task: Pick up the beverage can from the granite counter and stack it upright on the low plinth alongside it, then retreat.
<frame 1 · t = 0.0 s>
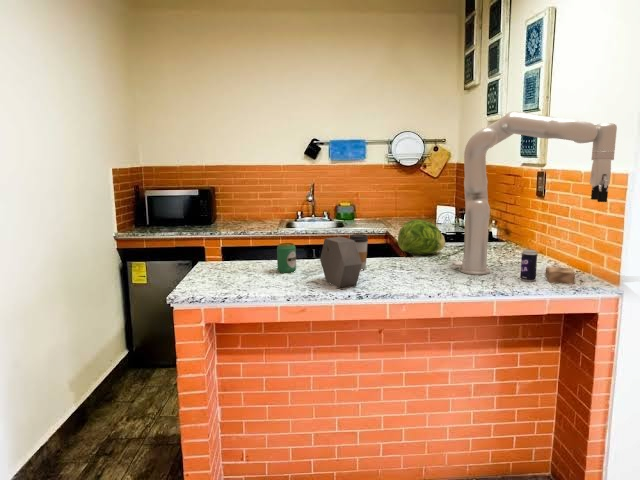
hand: (598, 200, 191), 31 cm above the worktop, fingers open, 9 cm apart
beverage can 2: (286, 272, 211), on the worktop
coffee cup: (358, 269, 215), on the worktop
lettuce: (421, 254, 246), on the worktop
beverage can: (527, 280, 194), on the worktop
dark hexagonal prism: (340, 283, 192), on the worktop
plinth: (559, 280, 193), on the worktop
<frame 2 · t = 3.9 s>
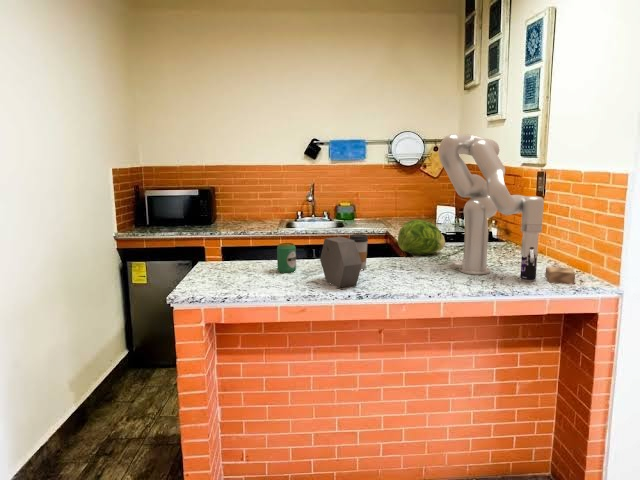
hand: (528, 272, 193), 3 cm above the worktop, fingers closed on beverage can, 5 cm apart
beverage can: (527, 280, 194), on the worktop, touching gripper
everything else where it was.
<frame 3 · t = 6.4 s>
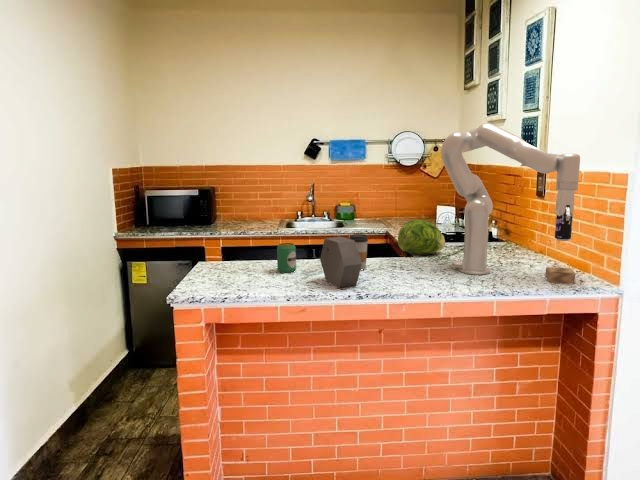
hand: (563, 232, 190), 19 cm above the worktop, fingers closed on beverage can, 5 cm apart
beverage can: (562, 240, 191), point 16 cm above the worktop, touching gripper
everything else where it was.
when the fingers open (8 cm above the worktop, at t = 9.2 s): beverage can stays where it is, resting on plinth.
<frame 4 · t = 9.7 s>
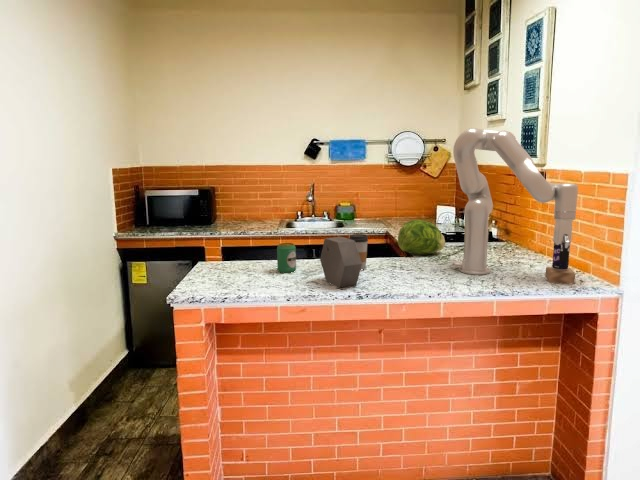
hand: (561, 258, 192), 9 cm above the worktop, fingers open, 9 cm apart
beverage can: (559, 270, 193), point 4 cm above the worktop, touching plinth
everything else where it was.
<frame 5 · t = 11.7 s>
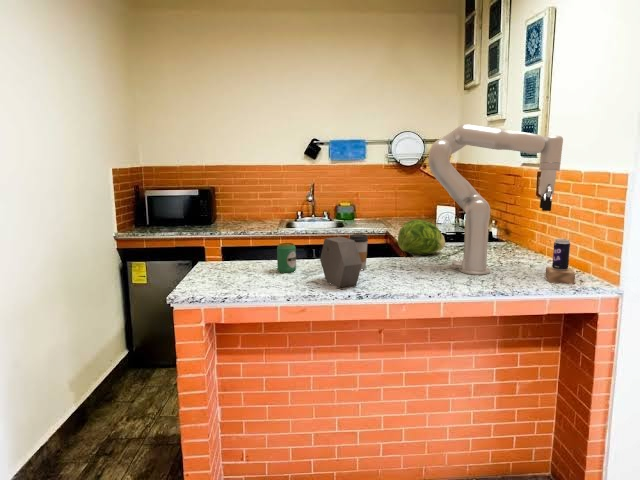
hand: (545, 209, 199), 27 cm above the worktop, fingers open, 9 cm apart
nothing on the worktop moved.
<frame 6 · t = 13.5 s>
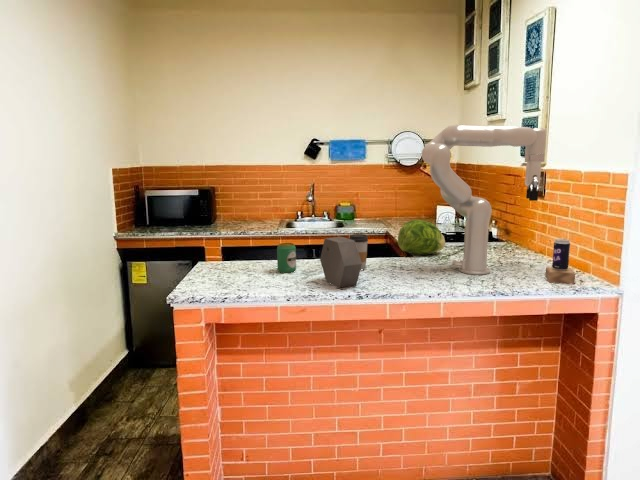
hand: (531, 199, 207), 30 cm above the worktop, fingers open, 9 cm apart
nothing on the worktop moved.
at the end: beverage can inside the target area on the plinth (0.1 cm from its centre), point 4.1 cm above the plinth's base; beverage can tilted 0°; beverage can touching plinth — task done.
